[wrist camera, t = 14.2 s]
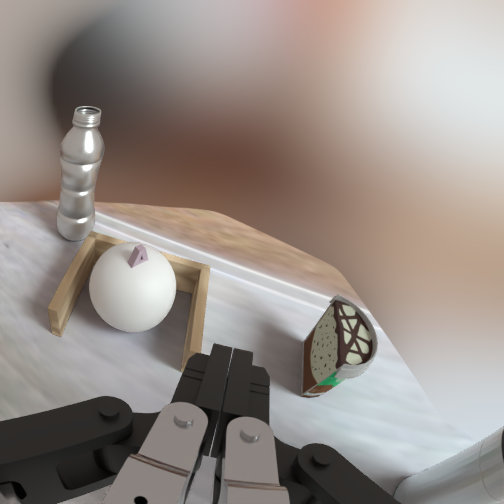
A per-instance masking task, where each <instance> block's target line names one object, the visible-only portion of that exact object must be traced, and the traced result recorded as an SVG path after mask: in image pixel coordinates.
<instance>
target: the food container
mask: <svg viewBox="0 0 504 504" xmlns="http://www.w3.org/2000/svg"><path fill="white" fill-rule="evenodd" d="M330 303H331V304H330V306H329V307H328V308H327V310H326V311H325V313H324V314H323V315H322V317H321V318H320V320H319V321H318V322H317V324H316V325H315V327H314V328H313V329H312V331H311V332H310V334H309V335H308V336H307V338H306V339H305V340H304V342H303V348H302V382H301V397H306V398H311V397H318V396H320V395H322V394H324V393H326V392H327V391H329V390H330V389H332V388H333V387H335V386H336V385H338V384H339V383H341V382H342V381H344V380H345V379H349V378H354V377H357V376H359V375H361V374H362V373H364V372H365V371H366V370H367V368H368V367H369V365H370V364H371V363H372V361H373V359H374V357H375V354H376V351H377V345H378V342H377V336H376V332H375V330H374V327H373V325H372V324H371V322H370V320H369V319H368V317H367V316H366V315H365V314H364V312H363V311H362V310H361V309H360V308H359V307H357V306H356V305H355V304H354V303H352V302H351V301H349V300H348V299H346V298H344V297H342V296H340V295H338V294H337V296H335V297H334V298H333V299H332V300H331V301H330Z"/></svg>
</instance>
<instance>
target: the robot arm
mask: <svg viewBox="0 0 504 504" xmlns="http://www.w3.org/2000/svg"><path fill="white" fill-rule="evenodd" d="M231 353H232V347H227V346H223V345H219V344H215V343H214V344H213V347H212V351H211V354H210V356H209V355H205V354H201V353H196V354H194V355H193V356H191V357H190V358H189V359H188V361H187V363H186V366H185V369H184V371H183V373H182V376H181V378H180V381H179V383H178V386H177V388H176V391H175V393H174V396H173V398H172V401H171V403H170V404H168V405H166V406H165V407H164V408H163V409H162V410H161V411H160V412H156V413H133V412H132V410H131V408H130V406H129V405H128V404H127V403H126V402H124V401H123V400H121V399H118V398H115V397H111V396H101V397H97V398H94V399H90V400H87V401H83V402H79V403H76V404H72V405H68V406H65V407H61V408H57V409H53V410H49V411H45V412H41V413H37V414H32V415H28V416H24V417H19V418H14V419H10V420H5V421H0V504H57V503H60V502H63V501H66V500H69V499H73V498H75V497H78V496H81V495H84V494H87V493H90V492H92V491H95V490H98V489H100V488H103V487H106V486H108V485H111V484H112V486H111V488H110V489H109V491H108V493H107V495H106V496H105V498H104V500H103V502H102V503H101V504H186V502H187V499H188V497H189V494H190V491H191V488H192V485H193V482H194V479H195V476H196V473H197V470H198V469H199V468H200V465H201V461H202V457H203V455H204V456H209V452H210V448H211V444H212V441H213V437H214V433H215V437H214V442H213V447H212V452H211V457H214V458H217V461H216V466H215V470H214V473H213V478H212V491H211V504H497V503H500V502H502V501H504V426H503V427H502V428H500V429H499V430H497V431H496V432H494V433H492V434H491V435H489V436H488V437H486V438H485V439H483V440H481V441H480V442H478V443H476V444H475V445H473V446H471V447H469V448H467V449H466V450H464V451H462V452H460V453H458V454H456V455H455V456H453V457H451V458H449V459H447V460H445V461H443V462H441V463H439V464H437V465H435V466H432V467H430V468H428V469H426V470H424V471H421V472H419V473H417V474H415V475H412V476H410V477H408V478H406V479H404V480H403V481H402V482H401V483H400V484H399V486H398V487H397V489H396V491H395V494H394V498H393V497H392V496H391V495H389V494H388V493H387V492H386V491H384V490H383V489H382V488H380V487H379V486H378V485H377V484H375V483H374V482H373V481H372V480H370V479H369V478H368V477H367V476H366V475H364V474H363V473H362V472H361V471H360V470H358V469H357V468H356V467H355V466H354V465H352V464H351V463H350V462H349V461H348V460H346V459H345V458H344V457H343V456H342V455H341V454H339V453H338V452H337V451H336V450H335V449H333V448H331V447H329V446H327V445H324V444H317V443H314V444H308V445H306V446H304V447H303V448H302V449H301V450H300V449H298V448H295V447H292V446H290V445H287V444H285V443H283V442H281V441H280V440H279V439H277V438H276V437H275V436H274V434H273V431H272V429H271V428H270V427H269V390H270V388H269V386H270V377H269V375H268V373H267V372H266V370H265V368H263V367H258V366H253V365H252V360H253V352H250V351H245V350H241V349H236V348H234V350H233V354H232V358H231ZM230 358H231V363H230ZM229 363H230V367H229ZM228 368H229V371H228ZM227 373H228V375H227ZM226 378H227V379H226ZM217 421H218V422H217ZM216 425H217V427H216ZM215 429H216V432H215Z"/></svg>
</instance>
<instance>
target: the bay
mask: <svg viewBox="0 0 504 504" xmlns="http://www.w3.org/2000/svg"><path fill="white" fill-rule="evenodd" d="M125 242H126V241H123V240H119V239H116V238H113V237H109V236H106V235H103V234H99V233H96V232H93V231H90V233H89V234H88V236H87V238H86V239H85V241H84V243H83V244H82V246H81V248H80V249H79V251H78V253H77V254H76V256H75V258H74V260H73V261H72V263H71V265H70V267H69V268H68V270H67V272H66V274H65V276H64V277H63V279H62V281H61V283H60V285H59V287H58V289H57V291H56V293H55V294H54V296H53V298H52V300H51V302H50V304H49V306H48V314H49V319H50V324H51V330H52V334H54V335H57V336H59V337H61V336H62V334H63V331H64V329H65V326H66V324H67V322H68V319H69V317H70V315H71V312H72V310H73V308H74V306H75V303H76V301H77V299H78V297H79V295H80V293H81V290H82V288H83V286H84V284H85V282H86V280H87V278H88V276H89V274H90V272H91V270H92V268H93V266H94V265H95V264H96V262H97V261H98V259H99V258H100V257H101V256H102V254H103V253H104V252H106V251H107V250H108V249H110V248H111V247H113V246H115V245H118V244H121V243H125ZM159 252H160V251H159ZM160 253H161V254H162V255H163V256H164V257H165V258H166V259H167V260H168V262H169V263H170V265H171V266H172V269H173V271H174V274H175V278H176V290H180V291H183V292H187V293H191V294H192V298H191V304H190V310H189V317H188V324H187V330H186V337H185V345H184V352H183V359H182V367H181V372H183V371H184V369H185V366H186V363H187V361H188V359H189V358H190V357H191V356H193V355H194V354H196V353H201V347H202V337H203V327H204V318H205V308H206V299H207V291H208V282H209V274H210V266H209V265H205V264H202V263H198V262H195V261H191V260H188V259H184V258H181V257H177V256H174V255H170V254H167V253H163V252H160Z"/></svg>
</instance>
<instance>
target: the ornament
mask: <svg viewBox="0 0 504 504" xmlns="http://www.w3.org/2000/svg"><path fill="white" fill-rule="evenodd" d="M89 293H90V298H91V301H92V304H93V306H94V308H95V310H96V311H97V313H98V314H99V315H100V317H101V318H102V319H103V320H104V321H105V322H107V323H108V324H109V325H111V326H112V327H114V328H116V329H119V330H122V331H125V332H132V333H137V332H143V331H147V330H149V329H151V328H153V327H155V326H156V325H158V324H159V323H160V322H161V321H162V320H163V319H164V318H165V317H166V315H167V314H168V312H169V311H170V309H171V307H172V304H173V302H174V299H175V294H176V278H175V274H174V271H173V269H172V266H171V265H170V263H169V262H168V260H167V259H166V258H165V257H164V256H163V255H162V254H161V253H160V252H159V251H158V250H156V249H155V248H153V247H151V246H149V245H146V244H143V243H138V242H125V243H121V244H118V245H115V246H113V247H111V248H110V249H108V250H107V251H106V252H104V253H103V254H102V256H101V257H100V258H99V259H98V261H97V262H96V264H95V266H94V268H93V270H92V273H91V276H90V282H89Z"/></svg>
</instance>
